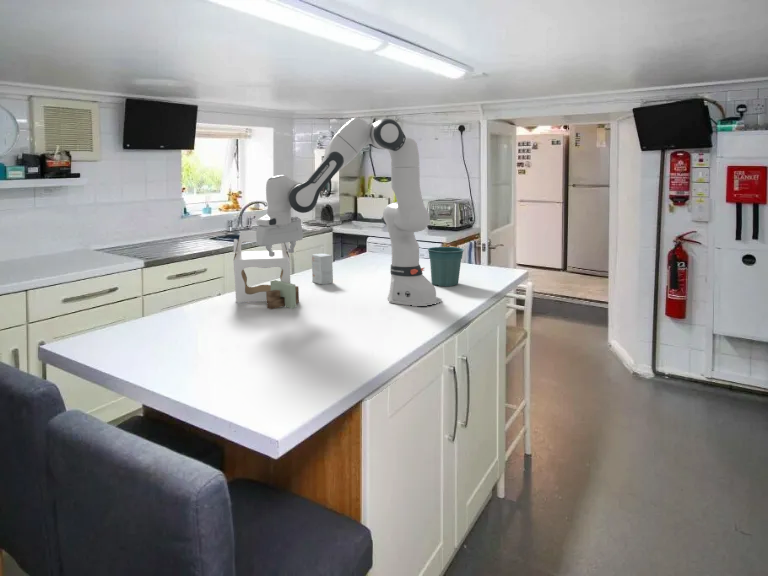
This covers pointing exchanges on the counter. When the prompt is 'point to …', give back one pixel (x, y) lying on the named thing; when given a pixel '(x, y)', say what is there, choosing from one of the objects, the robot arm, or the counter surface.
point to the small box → (322, 268)
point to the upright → (278, 298)
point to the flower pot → (445, 265)
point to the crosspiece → (285, 292)
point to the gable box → (260, 261)
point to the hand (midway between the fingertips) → (281, 254)
